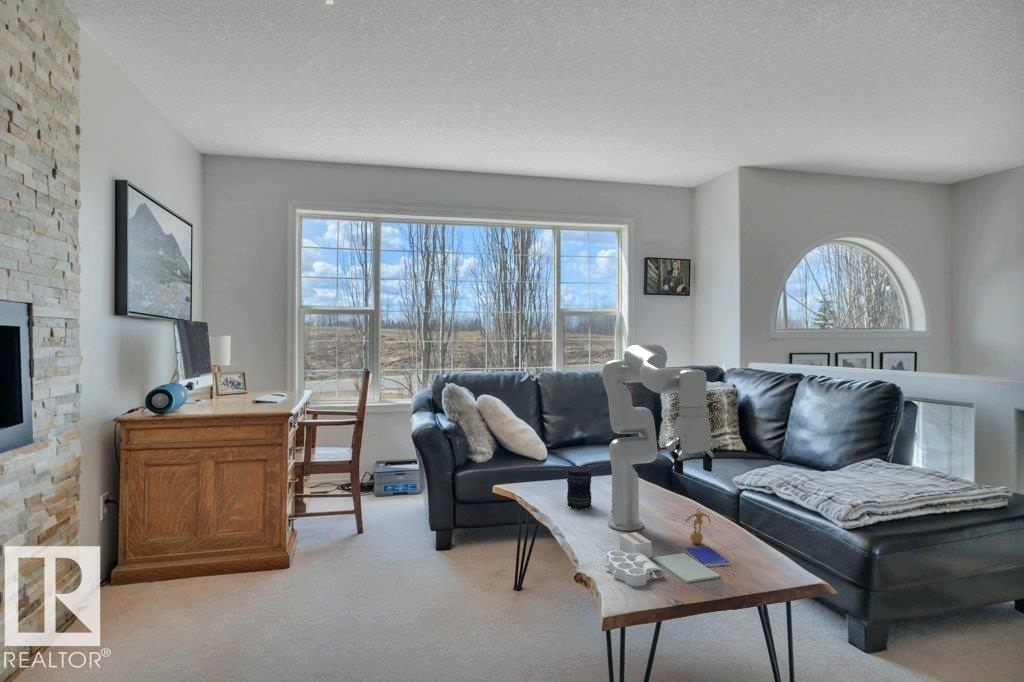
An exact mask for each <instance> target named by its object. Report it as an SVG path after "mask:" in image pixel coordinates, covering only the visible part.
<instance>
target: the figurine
mask: <svg viewBox="0 0 1024 682" xmlns="http://www.w3.org/2000/svg"><path fill="white" fill-rule="evenodd" d="M693 517H695V518H696V519H694V521H693V522H692V523H693V524H692V525H693V528H694V530H693V531H692V532H691V533H690V536H689V538H690V541H691V542H692V543H693V544H697V545H698V544H699V545H700V544H701V543H702V542H703V540H704V537H703V534H702V533H701V530H702V524H703V522H704V521H703V520H702V519H703V517H706V518H707V519H708V522H709V524H711V523H712V521H711V519H710V516H709V515H707V514H706V513H704V512H702V511H701V509H700V508H697V509H696V512H695V513H693V514H691V515H690V516H689V517H688V518H687V519H686V520H685V524H686V523H687V522H688V521H689V520H690V519H691V518H693ZM696 525H698V528H699V529H698V530H697V526H696Z"/></svg>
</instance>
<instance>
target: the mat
mask: <svg viewBox="0 0 1024 682" xmlns="http://www.w3.org/2000/svg"><path fill="white" fill-rule="evenodd" d="M652 560H653V561H654V560H655V563H657V562H658V563H657V564H659V565H660V564H661V565H660V566H661V567H663V568H664V567H665V568H664V569H666V570H667V571H669V572H670V573H672V574H674V575H675V576H676V577H678V579H680V580H682V581H683V582H685V583H686V584H688V583H694V582H695V583H696V582H700V581H708V580H713V579H718V578H719V579H720V578H721V575H720V574H719V573H717V572H715V571H714V570H712V569H711V568H709V567H706V566H704V565H703V564H701V563H699V562H698V561H697V560H696V559H694V558H693V557H692V556H689V554H686V553H684V552H680V553H675V554H669V555H663V556H662V555H660V556H655V557H653V556H652Z"/></svg>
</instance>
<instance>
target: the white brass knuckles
mask: <svg viewBox="0 0 1024 682" xmlns="http://www.w3.org/2000/svg"><path fill="white" fill-rule="evenodd" d="M607 563H608V564H607ZM603 567H605V568H606V569H608V572H609V571H610V572H609V573H611V572H612V573H611V575H613V577H614V576H615V577H614V578H616V579H617V578H618V580H620V581H623V582H625V584H626V585H628V586H632V587H641V586H642V587H643V586H646V584H647V582H648V580H652V578H653V580H655V578H654V577H652V576H651V575H652V573H651V572H652V571H653V572H654V573H655V575H656V576H657V578H658V579H661V578H662V577H663V576H665V571H664V570H663V568H661V567H659V566H658V565H657V564H656V562H654V561H652V560H651V559H650V558H647V557H646V556H645V555H643V554H641V553H633V554H630V553H625V552H623V551H621V550H610V551H608V552H607V553H606V563H605V564H604V565H603ZM650 574H651V575H650Z"/></svg>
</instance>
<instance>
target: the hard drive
mask: <svg viewBox="0 0 1024 682" xmlns="http://www.w3.org/2000/svg"><path fill="white" fill-rule="evenodd" d="M686 551H687V553H688V555H690V557H691V558H693V559H694V558H695V559H694V560H696V561H698V562H699V563H701V564H703V565H704V566H709V567H720V566H719V565H725V566H730V565H731V563H730V561H729V560H728V559H726V558H725V557H724V556H722V555H721V554H720V553H718V552H717V551H716V550H714V549H713V548H712V547H710V546H695V547H686V548H685V552H686Z"/></svg>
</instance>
